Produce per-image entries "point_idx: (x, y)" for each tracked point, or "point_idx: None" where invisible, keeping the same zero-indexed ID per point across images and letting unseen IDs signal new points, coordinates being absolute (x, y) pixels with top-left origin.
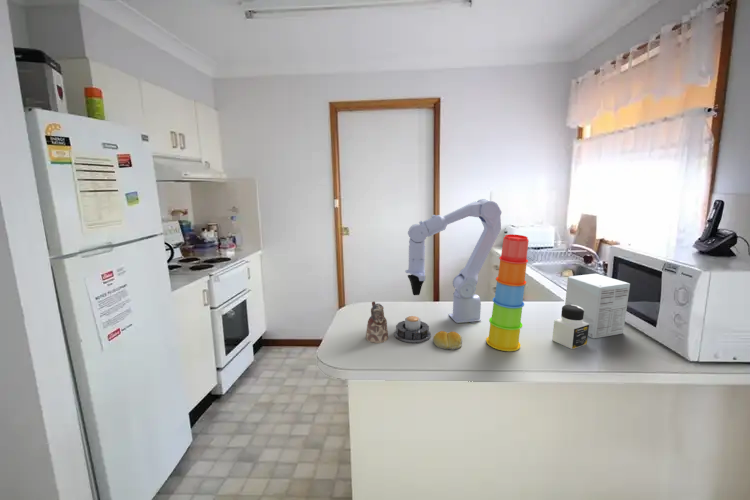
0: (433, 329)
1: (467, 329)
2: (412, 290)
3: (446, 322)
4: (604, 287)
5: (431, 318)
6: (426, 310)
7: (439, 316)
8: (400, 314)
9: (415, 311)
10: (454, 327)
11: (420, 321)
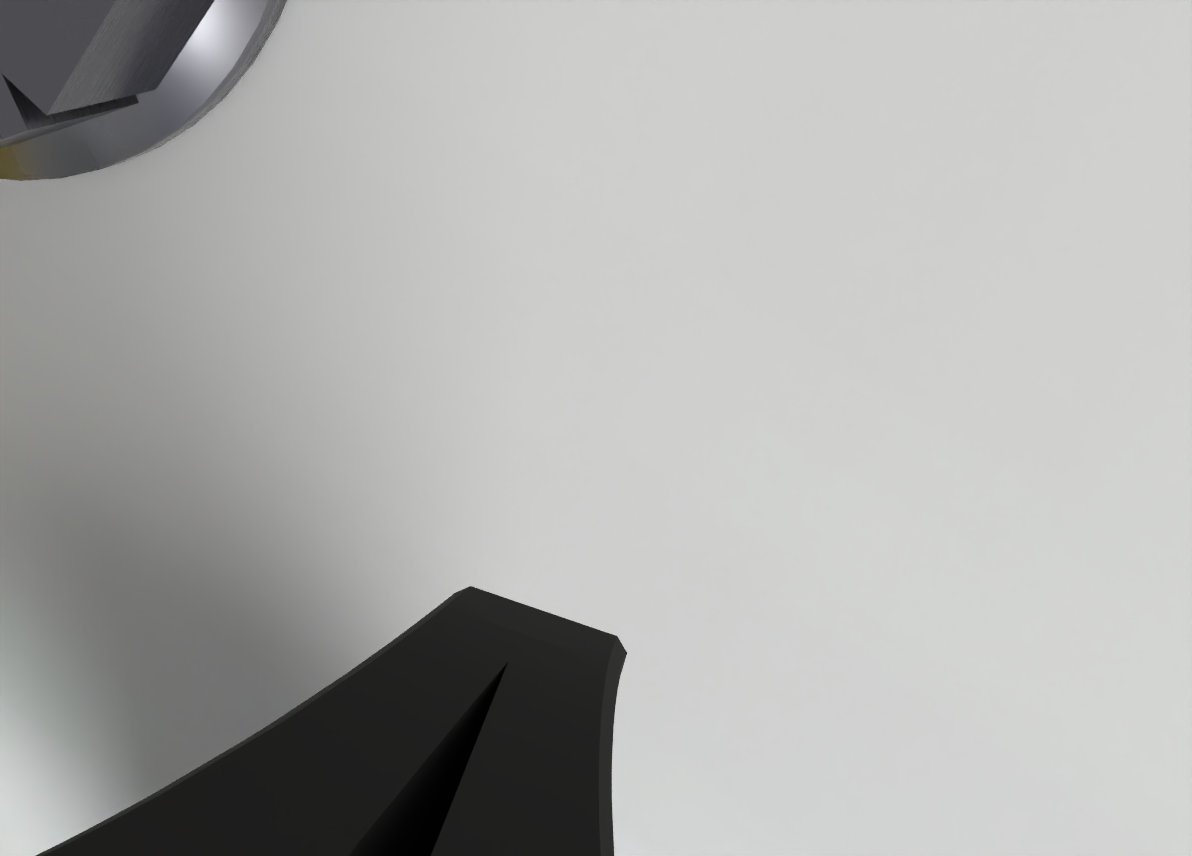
0: (115, 331)
1: (15, 754)
2: (501, 714)
3: None
4: None
5: (583, 610)
6: (1014, 791)
7: None
8: (1188, 138)
9: (1117, 580)
10: (114, 664)
11: (3, 109)
